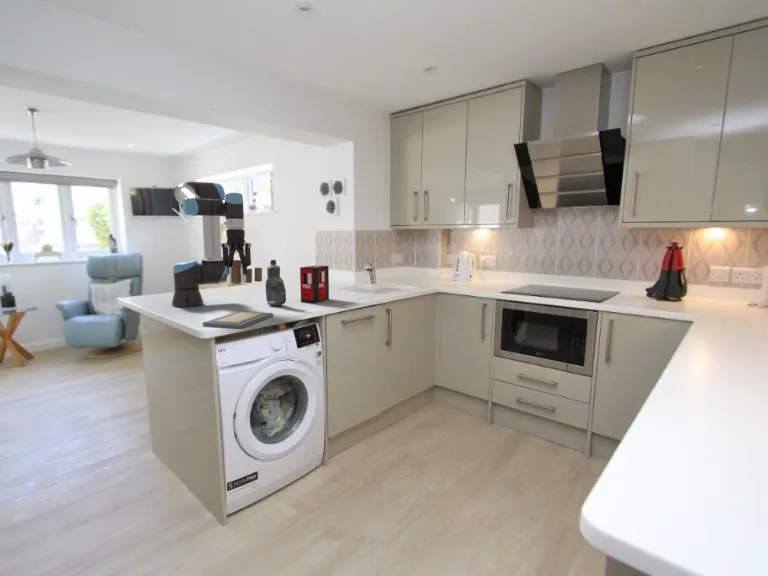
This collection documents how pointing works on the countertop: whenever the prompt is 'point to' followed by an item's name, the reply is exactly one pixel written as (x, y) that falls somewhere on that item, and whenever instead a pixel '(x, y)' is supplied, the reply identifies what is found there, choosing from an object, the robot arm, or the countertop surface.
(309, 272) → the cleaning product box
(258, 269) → the wooden block set
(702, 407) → the countertop surface
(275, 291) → the detergent
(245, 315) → the baseplate
